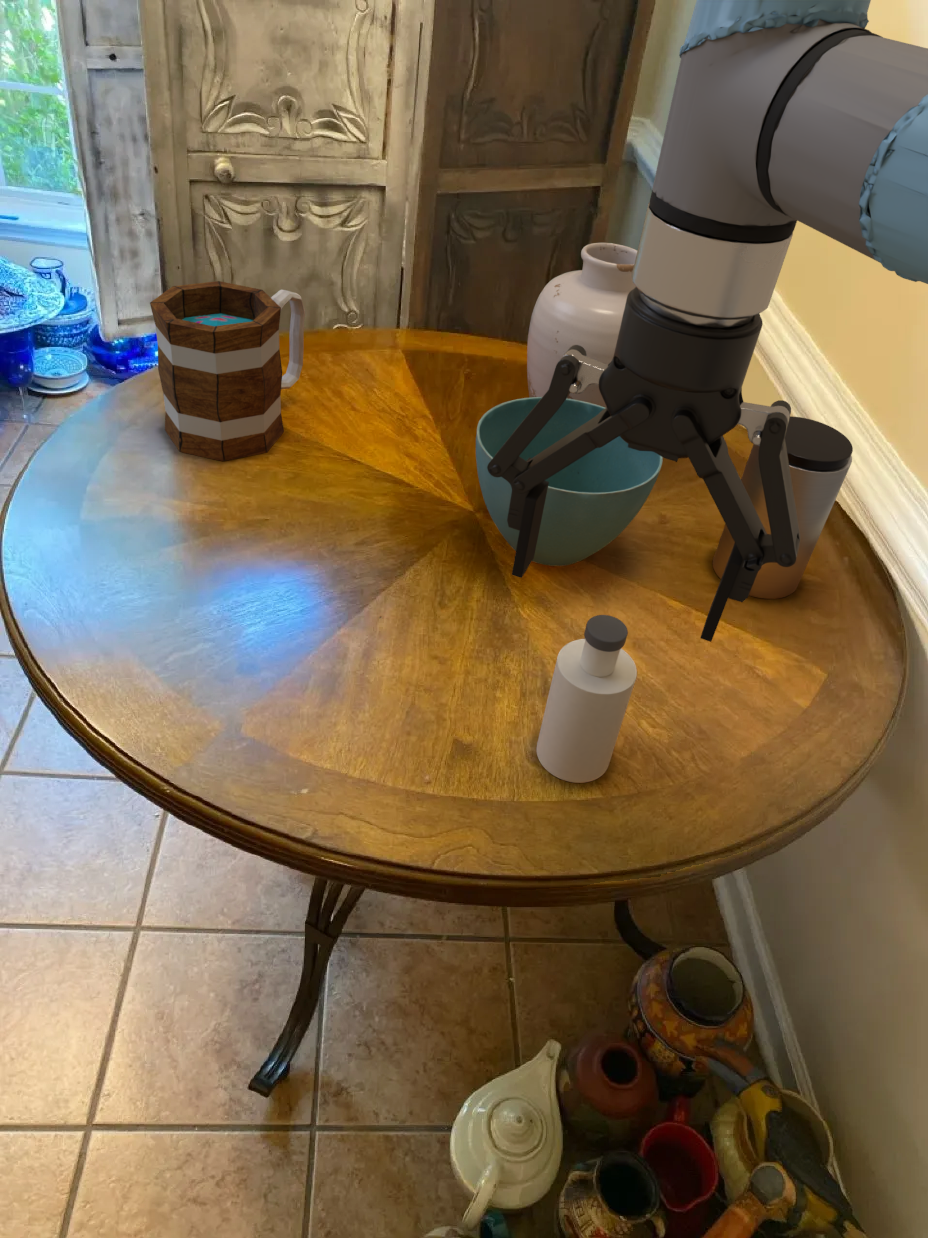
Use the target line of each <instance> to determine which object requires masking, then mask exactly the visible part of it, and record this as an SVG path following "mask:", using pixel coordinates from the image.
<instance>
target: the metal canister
mask: <svg viewBox="0 0 928 1238" xmlns="http://www.w3.org/2000/svg"><path fill="white" fill-rule="evenodd" d="M785 443H786V449H787V456H788V462H789V468H790V475H791V481H792V487H793V494H794V500H795V506H796V513H797V519H798V525H799V532H800V545H799V549H798V554H797V558H796V562H795V564H794V565H792V566H790V567H783V566H780V565H779V564H778V563H766V564H764V565H762V567H761V569H760V570H759V571H758V573H757V576H756V578H755V581H754V583H753V586H752V588H751V591H750V593H749V596H750V597H753V598H758V599H763V600H764V599H766V600H777V599H778V600H779V599H782V598H787V597H789V596H791V595H792V594H793V593H794V592H795V591H796V590H797V588H798V586H799V584H800V581H801V579H802V577H803V575H804V572H805V571H806V568H807V566H808V564H809V562H810V559H811V557H812V554H813V551H814V550H815V547H816V545H817V543H818V541H819V538H820V536H821V534H822V531H823V530H824V528H825V525H826V522H827V520H828V518H829V515H830V513H831V512H832V508H833V506H834V504H835V502H836V500H837V497H838V495H839V493H840V491H841V488H842V486H843V484H844V481H845V479H846V477H847V474H848V472H849V469H850V467H851V465H852V462H853V456H852V454H853V452H854V447H853V444H852V442H851V440H850V439H849V438H848V437H847V436H846V435H844V434H843V433H842V432H840V431H839V430H837V429H836V428H834V427H832V426H830V425H828V424H826V423H823V422H821V421H819V420H814V419H810V418H806V417H800V416H793V415H790V418H789V422H788V426H787V431H786V435H785ZM759 447H760V445H757V446H756V445H754V444H753V443H752V447H751V449H750V453H749V456H748V458H747V461H746V463H745V468H744V470H743V472H742V475H741V477H740V479H741V481H742V483H743V485H744V487H745V489H746V491H747V493H748V495H749V497H750V500H751V502H752V504H753V506H754V508H755V510H756V512H757V514H758V516H759V518H760V520H761V522H762V524H763V526H764V528H765V531H766V533H767V534H771V531H770V525H769V519H768V513H767V508H766V502H765V496H764V491H763V485H762V479H761V474H760V468H759V460H758V458H759ZM734 543H735V542H734V540H733V538H732V536H731V534H730V532H729V530H728V528H727V526H726V524H725V523H724V527H723V529H722V532H721V536H720V538H719V541H718V543H717V547H716V549H715V552H714V554H713V558H712V567H713V570H714V572H715V574H716V575H717V577H718V578H719V580H721V578H722V575H723V573H724V570H725V567H726V565H727V562H728V559H729V557H730V554H731V551H732V549H733V546H734ZM749 596H748V597H749Z"/></svg>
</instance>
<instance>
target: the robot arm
mask: <svg viewBox="0 0 928 1238" xmlns="http://www.w3.org/2000/svg"><path fill="white" fill-rule="evenodd" d="M871 1H872V0H696V1H695V5H694V8H693V11H692V15H691V19H690V21H689V26H688V28H687V32H686V35H685V39H684V42H683V44H682V45H681V46H680V48H679V53H678V54H679V55H678V56H679V58H680V61H679V66H678V71H677V75H676V80H675V84H674V89H673V93H672V98H671V102H670V107H669V110H668V116H667V121H666V125H665V130H664V133H663V138H662V142H661V143H662V144H661V148H660V153H659V157H658V161H657V166H656V171H655V174H654V180H653V184H652V189H651V193H650V198H649V202H648V203H647V207H646V212H645V216H644V220H643V224H642V225H643V226H642V229H641V233H640V238H639V243H638V246H637V255H636V259H635V264H634V268H633V272H632V281H633V283H634V285H635V286H636V287H635V288H634V289H633V290H631V291H630V292H629V294H628V296H627V300H626V304H625V309H624V313H623V317H622V322H621V326H620V330H619V335H618V339H617V343H616V348H615V352H614V356H613V359H612V361H611V362H610V363H609V364H608V365H606V364H604V363H601V362H599V361H596V360H594V359H591V358H589V357H586V356H587V354H586V351H585V349H584V348H583V347H582V346H580V345H573V346H572V347H570V348H569V349H568V351H567V352H566V353H565V354H564V356H563V357H562V358H561V359H560V361H559V362H558V363H557V365H556V368H555V371H554V374H553V377H552V381H551V384H550V387H549V390H548V391H547V392H546V393H545V395H544V396H543V397H542V398H541V399H540V401H539V402H538V403H537V404H536V406H535V407H534V408H533V409H532V410H531V412H530V413H529V414H528V415H527V417H526V418H525V419H524V420H523V421H522V423H521V424H520V425H519V426H518V428H517V429H516V430H515V431H514V432H513V434H512V435H511V436H510V437H509V439H508V440H507V441H506V442H505V444H504V445H503V446H502V447H501V448H500V450H499V451H498V452H497V454H496V455H495V456H494V457H493V459H492V460H491V461H490V462H489V464H488V466H487V469H488V472H489V473H490V474H491V475H492V476H493V477H502V478H504V479H505V480H507V481H508V482H509V483H510V485H511V488H512V494H511V500H510V505H509V511H508V517H507V522H508V526H509V527H510V528H513V529H516V530H519V537H518V542H517V548H516V551H515V554H514V559H513V564H512V570H511V576H514V577H516V578H520V579H522V578H523V577H524V575H525V573H526V572H527V570H528V568H529V567H530V566H531V563H532V562H533V561H532V560H533V558H534V555H535V550H536V545H537V540H538V535H539V530H540V525H541V519H542V514H543V509H544V504H545V499H546V494H547V489H548V484H549V482H548V481H545V480H546V479H548V478H550V477H551V476H553V475H554V474H556V473H557V472H559V471H561V470H562V469H564V468H565V467H567V466H569V465H570V464H572V463H573V462H575V461H577V460H578V459H580V458H581V457H583V456H585V455H586V454H588V453H589V452H591V451H593V450H594V449H596V448H601V447H602V446H604V445H606V444H607V443H609V442H611V441H612V440H614V439H615V438H617V437H619V436H620V437H621V438H622V439H623V440H624V441H625V442H626V443H628V448H632V449H635V450H638V451H652V452H655V453H656V454H658V455H660V456H662V457H663V459H666V460H669V461H673V462H675V463H677V462H678V460H680V459H681V460H682V459H687V458H688V460H689V461H690V463H691V465H692V467H693V469H694V471H695V473H696V475H697V477H698V478H699V479H702V481H703V482H704V484H705V486H706V488H707V490H708V492H709V494H710V496H711V498H712V500H713V502H714V505H715V506H716V508H717V510H718V512H719V514H720V516H721V518H722V520H723V522H724V525H725V524H726V526H727V528H728V530H729V532H730V534H731V536H732V538H733V540H734V542H735V543H734V546H733V549H732V551H731V554H730V557H729V559H728V562H727V565H726V567H725V570H724V573H723V575H722V578H721V579H720V581H719V584H718V586H717V589H716V592H715V594H714V597H713V599H712V602H711V605H710V608H709V610H708V613H707V615H706V619H705V622H704V625H703V627H702V631H701V634H700V637H699V638H700V639H701V640H704V641H707V642H710V643H712V641H713V638H714V635H715V633H716V630H717V628H718V626H719V623H720V620H721V618H722V616H723V613H724V610H725V607H726V605H727V602H728V600H733V601H736V602H739V603H744V601H746V600H747V599H748V598H749V593H750V591H751V588H752V586H753V583H754V581H755V578H756V576H757V573H758V571H759V570H760V569H761V567H762V565H764V564H766V563H778V564H779V565H780V566H783V567H790V566H792V565H794V564H795V562H796V558H797V554H798V549H799V545H800V532H799V525H798V519H797V513H796V506H795V500H794V494H793V487H792V481H791V475H790V468H789V462H788V456H787V449H786V443H785V435H786V431H787V426H788V422H789V418H790V416H791V413H792V406H791V404H790V403H789V402H787V401H785V400H781V399H780V400H776V401H774V402H772V403H771V404H770V405H764V404H759V403H752V402H745V401H744V399H743V384H744V381H745V378H746V376H747V372H748V370H749V367H750V363H751V361H752V358H753V355H754V352H755V349H756V346H757V344H758V343H757V342H758V340H759V337H760V334H761V331H762V328H763V325H764V323H763V319H762V317H761V313H764V311H766V310H767V309H768V308H769V306H770V302H771V299H772V297H773V294H774V291H775V288H776V284H777V283H778V279H779V276H780V273H781V270H782V268H783V265H784V261H785V259H786V256H787V253H788V250H789V247H790V245H791V241H792V239H793V236H794V231H795V228H796V225H797V223H798V222H799V223H801V224H803V225H805V226H807V227H809V228H810V229H813V230H815V231H816V232H819V233H821V234H822V235H824V236H827V237H829V238H831V239H833V240H835V242H838V243H840V244H842V245H844V246H846V247H848V248H850V249H852V250H854V251H856V252H858V253H860V254H862V255H864V256H866V257H867V258H870V259H872V260H874V261H876V262H878V263H880V265H881V266H882V267H883V268H884V269H886V270H887V271H890V272H894V273H895V274H896V276H898V277H900V278H902V279H903V280H904V279H905V280H907V281H911V282H914V283H917V282H921V283H924V284H925V285H928V48H927V47H924V46H919V45H915V44H912V43H907V42H903V41H899V40H896V39H890V38H887V37H883V36H882V35H879V34H877V33H875V32H872V31H871V30H869V29H867V28H866V27H867V25H868V24H869V22H870V20H869V19H868V11H869V8H870V5H871ZM591 384H596V385H599V391H600V393H601V395H602V398H603V400H604V402H605V404H606V408H605V409H603V410H602V411H601V412H600V413H599V414H598V415H597V416H595V417H594V418H592V419H591V420H589V421H588V422H586V423H585V424H583V425H582V426H580V427H579V428H577V429H576V430H574V431H573V432H571V433H569V434H568V435H566V436H565V437H563V438H562V439H560V440H559V441H557V442H556V443H554V444H553V445H551V446H550V447H548V448H547V449H545V450H544V451H542V452H541V453H539V454H537V455H536V456H534V457H533V458H530V457H529V458H528V459H527V461H525V460H524V459H523V458H521V457H520V456H519V455H520V454H521V453H522V452H523V451H524V450H525V448H526V447H527V446H528V445H529V444H530V442H531V441H532V440H533V439H534V438H535V437H536V435H537V434H538V433H539V432H540V431H541V429H542V428H543V427H544V426H545V425H546V424H547V422H548V421H549V420H550V419H551V418H552V416H553V415H554V414H555V413H556V412H557V411H558V409H559V408H560V407H561V405H562V404H563V403H564V401H565V400H566V399H567V397H568V396H569V394H570V393H573V394H580V393H582V392H583V391H584V390H585V389H586V388H587V386H589V385H591ZM738 425H740V426H742V427H744V428H745V429H746V431H747V438H748V439H749V442H750V443H751V444H752V445H753V444H754V445H756V446H757V445H760V447H759V458H758V460H759V468H760V474H761V479H762V485H763V491H764V496H765V502H766V508H767V513H768V519H769V525H770V531H771V534H767V533H766V531H765V528H764V526H763V524H762V522H761V520H760V518H759V516H758V514H757V512H756V510H755V508H754V506H753V504H752V502H751V500H750V497H749V495H748V493H747V491H746V489H745V487H744V485H743V483H742V481H741V476H740V475H739V473H738V470H737V469H736V466H735V465H734V463H733V461H732V458H731V456H730V454H729V448H728V447H729V446H728V444H727V441H726V440H725V437H724V436H725V435H727V433H729V432H730V431H732V430H734V429H735V428H736V427H737V426H738Z"/></svg>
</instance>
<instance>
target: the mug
mask: <svg viewBox="0 0 928 1238" xmlns="http://www.w3.org/2000/svg"><path fill="white" fill-rule="evenodd" d="M288 302H289V306H290V319H289V333H288V335H289V339H288V340H289V341H288V342H289V359H288V360H289V361H288V364H287V368H286V372H285V373H284V374H283V366H282V360H281V358H282V357H281V352H280V324H281V323H280V321H281V314H282V313H281V312H282V311H283V308H284V306H285V305H286V304H287V303H288ZM149 305H150V309H151V313H152V318H153V321H154V325H155V333H156V341H157V342H156V343H157V368H158V369H157V370H158V375H159V379H160V384H161V389H162V395H163V402H164V403H163V405H164V431H165V432H166V434H167V436H168V437H169V438H170V440H171V442H172V443H173V444H174V446H175V447H176V449H177V450H178V451H179V452H180V453H183V454H189V455H193V456H198V457H202V458H207V459H211V460H216V461H220V462H226V461H232V460H237V459H241V458H247V457H250V456H251V457H252V456H256V455H263V454H266V453H268V452H269V451H270V449H271V448H272V447H273V446H274V444H275V443H276V442H277V441H278V440H279V438H281V436H282V435H283V434H284V432H285V430H284V429H285V428H284V423H283V422H284V421H283V417H282V403H281V402H282V400H281V398H282V397H281V393H282V392H281V391H282V390H287V389H288V390H289V389H290V388H291V387H293V386H294V385H295V384H296V382H297V381H299V379H300V376H301V372H302V370H303V366H304V333H305V332H304V331H305V318H306V317H305V316H306V310H305V306H304V303H303V299H302V296H301V295H300V294H299V293H297V292H295V291H290V290H288V289H287V290H286V289H279V290H278V291H277V292H276V293H274V294H272V296H269V294H267V292H265V290H263V289H260V288H255V287H251V286H246V285H240V284H236V283H231V282H226V281H220V280H216V281H208V282H199V283H188V284H180V285H172V286H171V287H169V288H168V289H167V290H165V291H164V292H163V293H161V294H160V295H159V296H157V297H155V298H154V299H153V300H151V301H150V302H149Z"/></svg>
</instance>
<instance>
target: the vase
mask: <svg viewBox="0 0 928 1238" xmlns="http://www.w3.org/2000/svg"><path fill="white" fill-rule="evenodd" d="M580 251H581V252H580V257H581V260H582V263H583V264H582V269H578V270H572V271H567V272H564V273H561V274H560V275H557V276H555V277H553V278H552V279H551V280H549V282H548V283H546V285H545V286H544V288H542V290H541V292H540V294H539V295H538V297H537V299H536V302H535V305H534V306H533V309H532V313H531V316H530V322H529V326H528V327H529V328H528V335H527V349H526V368H527V369H526V372H527V374H526V376H527V377H526V378H527V389H528V396H529V397H528V398H530V397H543V396H544V395H545V393H546V392H547V391H548V390H549V387H550V384H551V381H552V377H553V374H554V371H555V368H556V365H557V363H558V362H559V361H560V359H561V358H562V357H563V356H564V354H565V353H566V352H567V351H568V349H569V348H570V347H572V346H573V345H580V346H582V347H583V348H584V349H585V351H586V354H587V356H586V357H589V358H591V359H594V360H596V361H599V362H601V363H604V364H606V365H608V364H609V363H610V362H611V361H612V359H613V356H614V352H615V348H616V343H617V339H618V335H619V330H620V326H621V322H622V317H623V313H624V309H625V304H626V300H627V296H628V294H629V292H630V291H631V290H633V289H634V288H635V287H636V286H635V285H634V283H633V281H632V272H633V268H634V264H635V259H636V255H637V251H638V249H635V248H632V247H630V246H627V245H622V244H619V243H612V242H593V243H588V244H586V245H585V246H583V248H582V249H581V250H580ZM567 399H573V400H579V401H584V402H589V403H592V404H596V405H599V406H602V407H605V408H606V404H605V402H604V400H603V398H602V395H601V393H600V391H599V385H596V384H591V385H589V386H587V388H586V389H585V390H584V391H583V392H582V393H580V394H573V393H570V394H569V396H568V397H567Z"/></svg>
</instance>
